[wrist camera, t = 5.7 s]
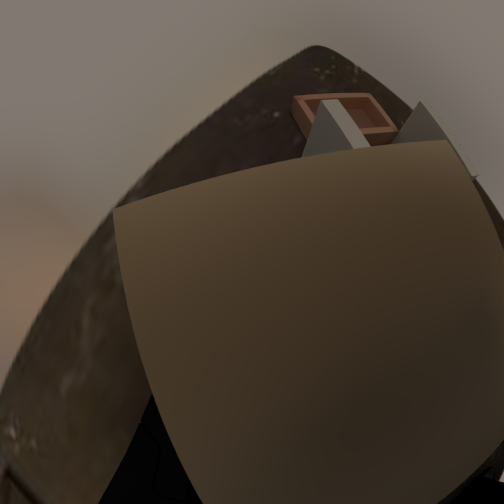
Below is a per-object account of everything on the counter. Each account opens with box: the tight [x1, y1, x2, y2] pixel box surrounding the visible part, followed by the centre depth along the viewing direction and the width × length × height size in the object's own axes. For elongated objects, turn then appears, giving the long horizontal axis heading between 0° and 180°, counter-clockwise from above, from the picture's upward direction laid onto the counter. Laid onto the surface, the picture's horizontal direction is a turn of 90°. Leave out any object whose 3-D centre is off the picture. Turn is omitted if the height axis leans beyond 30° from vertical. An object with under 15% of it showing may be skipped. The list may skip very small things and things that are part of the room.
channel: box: [301, 99, 479, 180], centre depth 16 cm, size 7×10×6 cm
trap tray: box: [290, 93, 399, 147], centre depth 20 cm, size 5×8×2 cm, turn 108°
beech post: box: [113, 140, 504, 504], centre depth 8 cm, size 5×5×12 cm
